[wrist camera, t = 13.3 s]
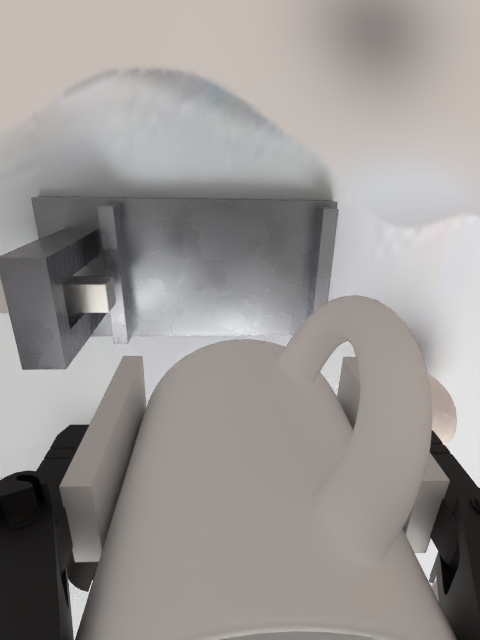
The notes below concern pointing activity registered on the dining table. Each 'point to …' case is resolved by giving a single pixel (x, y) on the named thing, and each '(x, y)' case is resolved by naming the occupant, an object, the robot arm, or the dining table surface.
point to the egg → (442, 411)
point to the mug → (275, 495)
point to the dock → (168, 269)
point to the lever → (81, 294)
